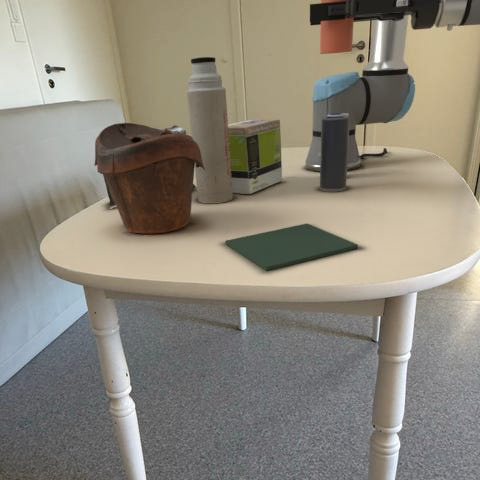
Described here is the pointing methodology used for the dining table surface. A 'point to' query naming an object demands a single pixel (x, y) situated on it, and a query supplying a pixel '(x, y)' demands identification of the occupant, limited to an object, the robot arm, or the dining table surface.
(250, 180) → the tea box
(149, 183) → the brown tapered pot
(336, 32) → the orange cylinder
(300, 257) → the mat
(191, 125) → the thermos bottle
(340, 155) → the dark grey cylinder
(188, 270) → the dining table surface
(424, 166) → the dining table surface
